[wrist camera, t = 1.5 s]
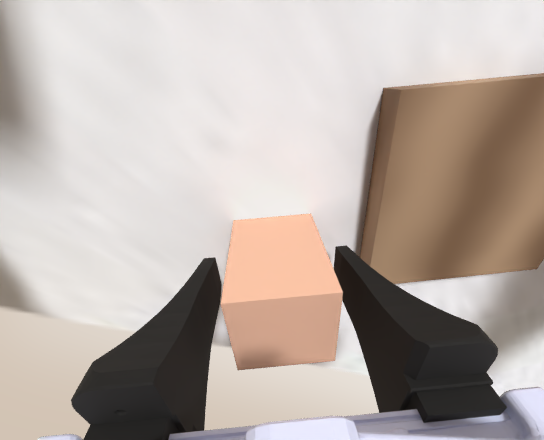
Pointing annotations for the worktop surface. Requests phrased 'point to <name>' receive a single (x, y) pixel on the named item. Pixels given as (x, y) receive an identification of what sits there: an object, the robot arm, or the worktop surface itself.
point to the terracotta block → (280, 293)
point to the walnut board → (457, 180)
